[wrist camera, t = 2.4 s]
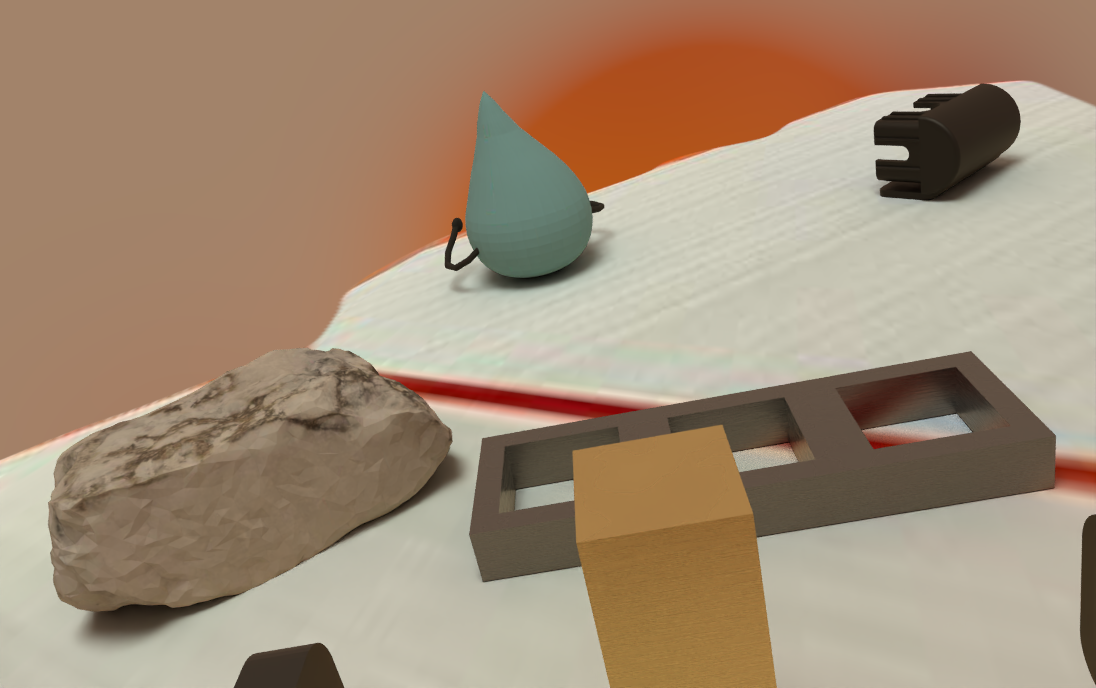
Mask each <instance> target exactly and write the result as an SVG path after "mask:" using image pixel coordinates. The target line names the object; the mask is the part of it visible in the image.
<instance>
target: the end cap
mask: <svg viewBox="0 0 1096 688" xmlns="http://www.w3.org/2000/svg"><path fill="white" fill-rule="evenodd" d="M913 106H914V108H931V110H928V111H922V112H892V113H891V114H890V115H888V116H883V117H882V118H881V119H880V120H878V121H877V122H876V123H875V125H874V144H875V145H891V146H904V147H906V148H907V149H908V151H909V158H908V159H907V160H905V161H904V160H882V159H878V160H876V176H877V179H878V180H885V181H892V182H890V183H888V184H887V185H885V186H883V187H881V188H880V195H881V196H882V197H890V198H902V199H915V200H929V199H933V198H935V197H936V196H938V195H940V194H941V193H943V192H944V191H946V190H948V189H949V188H951V187H952V186H954V185H956V184H957V183H959V182H960V181H962V180H964V179H965V178H967V177H968V176H970V175H972V174H973V173H975V172H976V171H978V170H980V169H981V168H983V167H984V166H986V165H988V164H989V163H991V162H992V161H994V160H995V159H997V158H998V157H999V156H1000V154H1002V153H1003V152H1004V151H1006V150H1007V149H1008V148H1009V147H1010V146H1011V145H1012V144H1013V143H1014V141H1015V139H1016V138H1017V136H1018V133H1019V130H1020V123H1021V120H1020V113H1019V109H1018V106H1017V104H1016V103H1015V101H1014V99H1013V98H1012V97H1011V96H1010V95H1009V94H1008V93H1007V92H1006V91H1004V90H1003V89H1001V88H999V87H997V86H994V85H991V84H980V85H978V86H976V87H974V88H972V89H970V90H968V91H966V92H964V93H963V94H927V95H926V96H925V97H924V98H919V99H918V100H917V101H916V102H914V103H913Z"/></svg>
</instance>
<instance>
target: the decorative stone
mask: <svg viewBox="0 0 1096 688" xmlns="http://www.w3.org/2000/svg"><path fill="white" fill-rule="evenodd" d="M452 442H453V441H452V431H451V429H450V428H448V427H447V426H446V425H445V424H443V423H442V422H441V420H440V419H439V418H438V416H437V415H436V413H435V412H434V411H433V410H432V409H431V408H430V407H429V405H428V404H427V403H426V402H425V400H424V399H423V398H422V397H420V396H419V395H418V394H416V393H415V392H413V391H412V390H409V389H408V388H406V387H405V386H404V385H402V384H401V383H400V382H396V381H395V380H391V379H388V378H385V377H382V376H379V374H378V372H377V371H376V370H375V368H374V367H373V366H372V365H371V364H370V363H369V362H367V361H366V360H364V359H362V358H361V357H359V356H357V355H356V354H354V353H352V352H350V351H344V350H341V349H334V348H332V349H331V350H330V351H326V352H325V351H320V350H311V349H309V348H296V349H287V350H273V351H271V352H268V353H266V354H264V355H263V356H261V357H259V358H257V359H256V360H254V361H252V362H250V363H248V364H247V365H246V366H241V367H239V368H236V369H233V370H231V371H227V372H226V373H224V374H223V375H222V376H220V377H218V378H217V379H215V380H213V381H211V382H210V383H208V384H206V385H205V386H203V387H202V388H200V389H198V390H197V391H195V392H193V393H191V394H189V395H187V396H185V397H183V398H181V399H179V400H177V401H174V402H172V403H170V404H168V405H166V406H163V407H161V408H159V409H157V410H155V411H152V412H150V413H148V414H146V415H144V416H141V417H138V418H135V419H132V420H128V421H124V422H120V423H117V424H115V425H113V426H111V427H109V428H106V429H103V430H100V431H98V432H95V433H93V434H91V435H89V436H88V437H86V438H84V439H83V440H81V441H79V442H77V443H76V444H74V445H73V446H71V447H70V448H69V449H67V450H66V451H65V452H63V453H62V454H61V455H60V457H59V458H58V460H57V464H56V467H55V471H54V478H55V489H54V490H53V492H52V494H51V501H49V502H48V505H49V520H48V527H49V531H50V535H51V541H52V547H53V548H52V550H51V552H50V554H51V561H52V564H53V566H54V568H55V569H54V574H53V583H54V586H55V588H56V591H57V594H58V597H59V598H60V600H61V601H63V602H65V603H67V604H70V605H72V606H74V607H76V608H77V609H81V610H87V611H94V612H98V611H112V610H116V609H118V608H120V607H121V606H125V605H129V604H140V605H167V606H169V607H172V608H175V607H183V606H190V605H192V604H195V603H198V602H204V601H208V600H211V599H215V598H218V597H222V596H229V595H237V594H240V593H243V592H246V591H248V590H250V589H252V588H254V587H257V586H259V585H260V584H262V583H264V582H266V581H268V580H270V579H272V578H274V577H276V576H278V575H280V574H282V573H284V572H286V571H288V570H290V569H292V568H294V567H295V566H296V565H298V564H299V563H300V562H301V561H304V560H308V559H310V558H311V557H313V556H314V555H316V554H317V553H319V552H321V551H323V550H324V549H326V548H328V547H329V546H331V545H332V544H334V543H335V542H336V541H338V540H339V539H341V538H342V537H343V536H344V535H346V534H347V533H348V532H350V531H352V530H353V529H355V528H356V527H358V526H359V525H361V524H363V523H366V522H369V521H371V520H374V519H376V518H378V517H381V516H383V515H385V514H387V513H389V512H391V511H392V510H394V509H395V508H397V507H398V506H399V505H401V504H402V503H403V502H405V501H407V500H409V499H410V498H411V497H412V496H413V495H415V494H416V493H417V492H418V491H419V490H420V489H421V488H422V487H423V486H424V485H425V484H426V482H427V481H428V479H429V478H430V477H431V476H432V475H433V474H434V473H435V471H436V469H437V467H438V466H439V465H440V463H441V462H442V461H443V460H444V458H445V456H446V455H447V453H448V451H449V449H450V445H451V443H452Z"/></svg>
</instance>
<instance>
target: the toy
mask: <svg viewBox="0 0 1096 688" xmlns="http://www.w3.org/2000/svg"><path fill="white" fill-rule="evenodd" d="M602 209H604V204H602V203H599V202H595V201H589V198H588V195H587V193H586V190H585V189H584V187H583V186H582V184H581V182H580V181H579V179H578V178H577V177H576V175H575V174H574V173H573V172H572V170H571V169H570V168H569V167H568V166H567V165H566V164H565V163H564V162H563V161H562V160H561V159H559V158H558V157H557V156H556V155H555V154H554V153H552V152H551V151H550V150H548V149H547V148H546V147H544V146H543V145H542V144H541V143H539V142H538V141H537V140H535V139H534V138H533V137H532V136H530V135H529V134H527V133H526V132H525V131H524V130H523V129H521V128H520V127H519V126H518V125H517V124H516V123H515V122H514V121H513V120H512V119H511V118H510V117H509V116H508V115H507V114H506V113H505V112H504V111H503V110H502V109H501V108H500V106H499V105H498V104H497V103H496V102H495V101H494V100H493V99H492V98H491V97H490V96H489V95H488V94H487V93H485V92H483V94H482V98H481V101H480V106H479V113H478V122H477V140H476V147H475V154H474V161H473V166H472V172H471V179H470V187H469V194H468V201H467V208H466V230H467V236H468V239H469V242H470V244H471V246H472V248H473V250H474V251H473V252H472V253H471V254H470V255H469V256H468V257H467V258H466V259H464V260H463V261H461V262H459V263H458V264H456V265H454V264H452V263H451V252H452V249H453V246H454V243H455V240H456V237H457V234H458V232H460V231H461V230H462V227H463V224H462V221H461V219H459V218H455V219H454V220H453V222H452V233H451V236H450V239H449V242H448V245H447V248H446V251H445V268H447V269H451V270H454V271H458V270H459V269H461V268H463V267H464V266H466V265H468V264H469V263H471V262H472V261H473V260H474V259H475V258H476V256H478V258H479V259H480V261H481V262H482V263H483V264H484V265H485V266H486V267H488V268H490V269H491V270H493V271H494V272H496V273H499V274H501V275H505V276H508V277H516V278H529V277H537V276H542V275H546V274H549V273H552V272H555V271H557V270H560V269H562V268H563V267H565V266H567V265H569V264H570V263H572V262H573V261H574V260H575V259H576V258H577V257H578V256H580V254H581V253H582V252H583V250H584V249H585V247H586V246H587V243H588V241H589V238H590V235H591V230H592V219H593V217H592V213H596V212H600V211H601V210H602Z"/></svg>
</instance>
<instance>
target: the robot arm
mask: <svg viewBox="0 0 1096 688" xmlns="http://www.w3.org/2000/svg"><path fill="white" fill-rule="evenodd" d="M1080 637H1081V644H1082V649H1083V653H1084V657H1085V660H1086V663H1087V666H1088V669H1089V671H1090V674H1091V676H1092V678H1093V680H1094V682H1095V684H1096V514H1095V515H1091V516H1089V517H1088V518H1087V519H1086V521H1085V523H1084V526H1083V533H1082V568H1081V613H1080ZM234 688H344V686H343V683H342V681H341V678H340V676H339V673H338V671H337V668H336V666H335V663H334V661H333V658H332V656H331V654H330V652H329V651H328V649H327V648H326V647H325V646H324V645H323V644H321V643H315V644H309V645H303V646H297V647H291V648H285V649H279V650H273V651H267V652H261V653H256V654H253V655H251V656H250V657H249V658H248V659H247V660H246V662H245V664H244V666H243V668H242V670H241V672H240V675H239V677H238V679H237V682H236V684H235V686H234Z"/></svg>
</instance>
